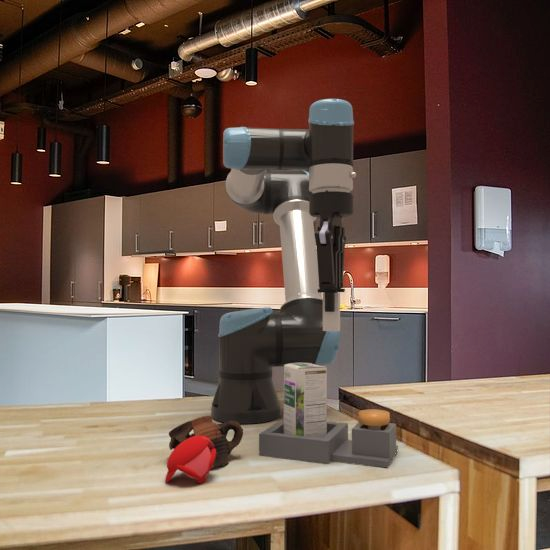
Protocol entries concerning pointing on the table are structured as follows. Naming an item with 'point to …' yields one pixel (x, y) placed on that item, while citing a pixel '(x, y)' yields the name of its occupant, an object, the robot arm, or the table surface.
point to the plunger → (374, 418)
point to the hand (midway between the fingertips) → (331, 330)
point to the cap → (192, 458)
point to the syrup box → (305, 399)
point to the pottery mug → (209, 436)
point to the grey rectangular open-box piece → (332, 444)
